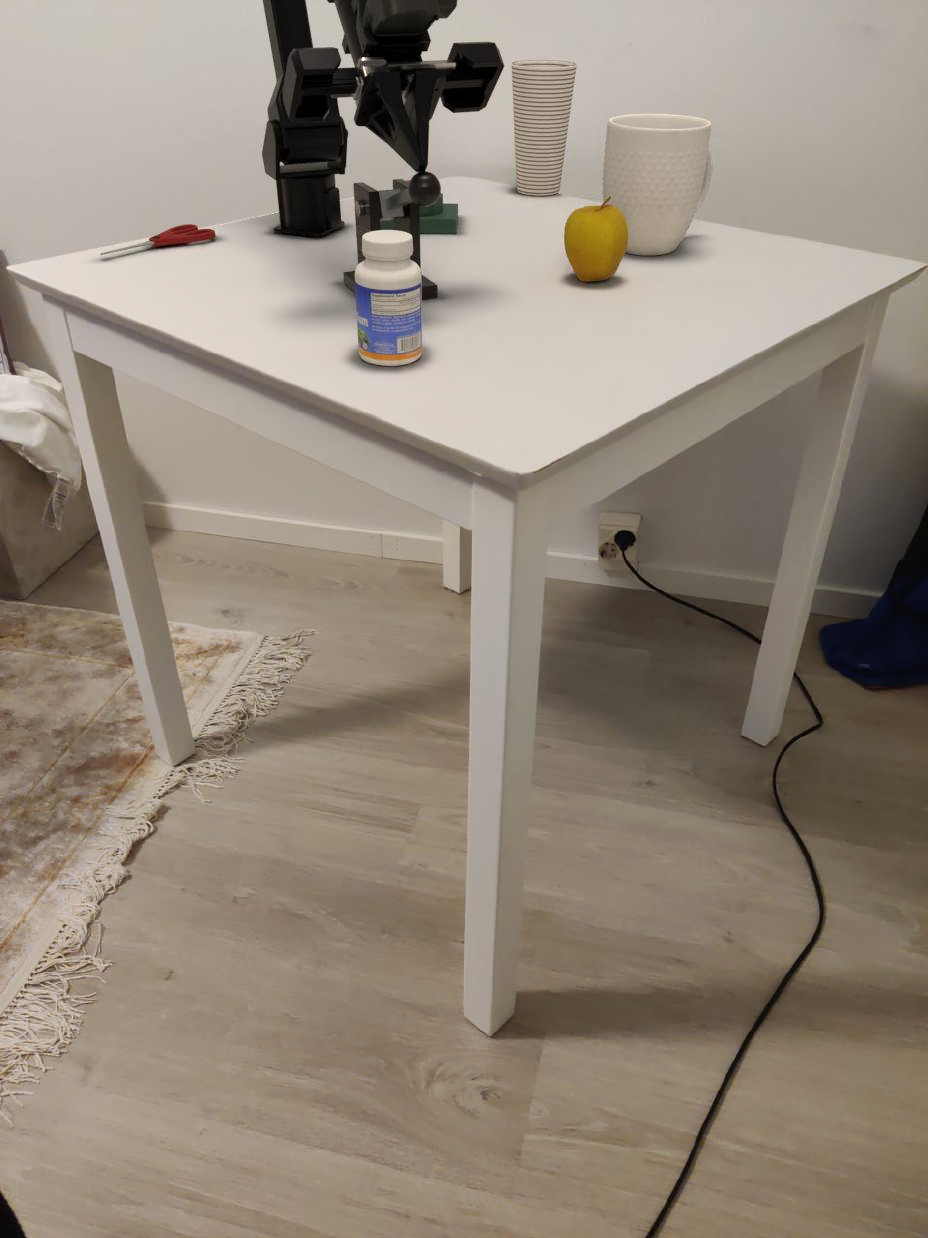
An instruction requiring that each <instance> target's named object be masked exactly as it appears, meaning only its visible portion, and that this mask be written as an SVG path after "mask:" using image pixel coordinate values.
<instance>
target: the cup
mask: <svg viewBox="0 0 928 1238" xmlns="http://www.w3.org/2000/svg"><path fill="white" fill-rule="evenodd" d="M577 66H578V65H577V63H576V62H572V61H567V60H566V61H565V60H556V59H555V60H554V59H553V60H552V59H551V60H550V59H527V60H526V59H525V60H518V61H513V62H511V84H512V86H511V87H512V108H513V109H512V111H513V135H514V136H513V137H514V157H515V158H514V163H515V183H516V186H515V187H516V192H517V193H520V194H521V195H522V194H523V195H526V196H536V197H544V196H545V197H546V196H552V195H556V194H558V193H559V192H560V189H561V183H562V175H563V169H564V168H563V167H564V160H565V154H566V145H567V139H568V132H569V131H568V130H569V126H570V125H569V123H570V118H571V117H570V116H571V109H572V103H573V102H572V101H573V94H574V87H575V81H576V74H577Z"/></svg>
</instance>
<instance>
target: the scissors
mask: <svg viewBox="0 0 928 1238" xmlns="http://www.w3.org/2000/svg"><path fill="white" fill-rule="evenodd" d="M214 238H216V231H215V230H214V229H213V228H212V229H211V228H198V225H196V224H193V223H192V224H191V223H189V224H188V223H187V224H181V225H176V226H174V227H170V228H169V229H166V230H165V231H162V232H160V233H158V234H155V235H153V236H151V237H149V238H148V240H146V241H144V242H139V243H136V244H133V245H129V246H124V247H120V248H117V249H112V250H108V251H103V252H100V254H99V255H100V256H104V255H109V254H113V253H117V252H121V251H126V250H131V249H135V248H141V247H145V246H152V247H156V248H157V247H161V246H169V245H178V244H186V243H196V242H203V241H209V240H212V239H214Z"/></svg>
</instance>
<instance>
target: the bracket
mask: <svg viewBox="0 0 928 1238" xmlns="http://www.w3.org/2000/svg"><path fill="white" fill-rule="evenodd" d="M408 187H409V182H407V180H405V179H404V178H397V179H396V178H394V179H392V189H400V190H401V191H403V190H405V189H407V188H408ZM379 191H380V190H377V189H375V188H374V187H372V186H370V185H368V184H366V182H365V183H364V182H363V181H361V182H353V201H354V218H355V234H356V235H355V236H356V237H355V238H356V252H357V253H356V254H357V265H358V264H360V263H361V262H362V261H364V260H366V257H365V256H364V255H363V252H362V236H363V235H364V234H365V233H368V232H372V231H378V230H381V229H380V206H379ZM403 212H404V216H403V217H400V218H397V219H395V220H394V230H397V231H403V232H407V233H409V234H411V235H412V238H413V254H412V256H410V260H412V261H414V262H415V263H416V264H418V266H419V267H420V269H421V270H422V265H421V262H422V261H421V258H422V257H421V255H422V254H421V233H420V207H419V205H417V204H415V203H414V202H412V203H410V204H407V205H405V206H403ZM342 275H343V284H344V285H345V286H346V287H347V288H348V289H350V290H351V291H352V292H353V293H354V294H356V292H355V270H349V271H343V274H342ZM421 278H422V300H428V299H434V298H438V297H439V295H438V294H439V293H438V290H439V289H438V284H437V283H435V282H433V281H432V280H431V279H429V278H428V277H426V276H425V275H423V274H422V273H421Z"/></svg>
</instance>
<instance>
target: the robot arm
mask: <svg viewBox="0 0 928 1238" xmlns="http://www.w3.org/2000/svg"><path fill="white" fill-rule="evenodd" d="M326 2H327V3H329V4H334V5H335V6H334V7H335V9H336V11H337V12H336V13H337V14H338V15H337V16H338V18H339V21H340V25H341V28H342V31H343V37H342V41H341V46H342V49H343V53H344V55H350V57H351V60H352V62H353V67H340V66H341V62H342V57H341V55H340V50H339V48H338V47H334V46H327V47H326V46H325V47H324V46H323V47H322V46H321V47H314V43H313V38H312V31H311V25H310V19H309V13H308V7H307V0H262V5H263V11H264V17H265V21H266V22H265V23H266V28H267V34H268V39H269V46H270V49H271V50H270V51H271V57H272V62H273V68H274V73H275V80H276V81H275V82H276V83H275V85H274V89H273V91H272V94H271V97H270V100H269V103H268V106H267V112H266V113H267V119H268V120H267V122H266V125H265V132H264V133H265V134H264V137H263V145H262V151H261V157H262V163H263V167H264V173H265V174H266V175H267V176H269V177H270V178H271V179H272V180H274V181H275V185H276V187H275V188H276V194H277V195H276V196H277V205H278V206H277V207H278V215H279V224H278V225H276V226H274V227H273V232H274V233H280V234H289V235H299V236H308V237H317V238H321V237H324V236H326V235H328V234H331V233H333V232H334V231H337V230H338V229H341V228H342V227H344V226H345V225H346V224H345V220H342V211H341V196H340V189H339V187H337V186H336V175H340V176H343V175H346V168H347V158H348V157H347V156H348V138H349V130H348V128H347V127H346V123H345V120H344V118H343V117H342V116H341V114H340V113H341V112H340V108H339V101H338V100H339V98H352V99H353V101H355V102H354V103H355V107H356V109H355V112H354V116H353V122H354V125H355V126H357V127H365V128H366V129H368V130H369V131H370V132H371V133H373V134H374V135H375V136H376V137H378V138H379V139H380V140H381V141H383V142H384V143H385V144H387V145H388V146H389V148H390V149H392V150H393V151H394V152H395V153H396V154H397V155H398V156H399V157H400V159H402V160H403V161H404V162H405V163H406V164H407V165H408V166H409V167H410V168H411V169H412V170H413V171H414V172H415V173H418V172H421V171H426V170H427V169H428V165H429V147H430V146H429V142H430V141H429V140H430V121H431V120H432V119H433V117H434V114H435V112H436V109H437V107H438V106H437V105H438V103H439V102H440V101H441V104H442V106H443V107H444V108H445V109H447V110H448V111H450V113H453V114H459V113H475V112H477V113H478V112H481V110H483V109H485V108H487V106H488V103H489V101H490V100H491V97H492V95H493V92H494V91H495V88H496V86H497V84H498V81H499V80H500V77H501V75H502V73H503V71H504V68H505V64H504V60H503V56H502V54H501V51H500V49H499V47H498V46H497V44H496V42H493V41H466V42H465V41H464V42H453V43H452V44H451V45H452V46H451V48H450V51H449V53H448V57H447V58H446V59H440V60H423V57H422V54H423V52H428V51H429V48H430V45H431V42H432V40H431V36H430V33H429V29H430V28H431V27H432V26H433V24H434V23H435V22H438V21H439V20H441V19H448V18H449V17H450V16H451V15H452V13H453V12H454V11H455V10H456V8H457V7H458V0H326ZM281 163H282V165H281Z"/></svg>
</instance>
